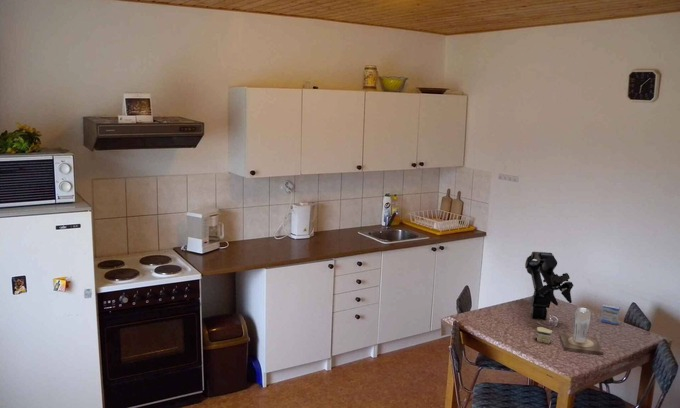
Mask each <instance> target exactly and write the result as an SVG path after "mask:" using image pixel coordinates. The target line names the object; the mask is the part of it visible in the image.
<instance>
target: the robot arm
mask: <svg viewBox="0 0 680 408" xmlns="http://www.w3.org/2000/svg"><path fill="white" fill-rule="evenodd" d="M525 260H526V261H525V263H524V264H525V265H524V268H525V269H526V271H527V273H528V274H529V275H530V276H531V280H532V285H533V290H534V291H533V294H532V296H531V298H530V302H529V303H530V305H531V307H532V311H531V319H534V320H541V319H542V320H543V321H547V315H548V309H549V308H550V306H551V303H553V304H554V305H555V306H559V303H558V300H557V298H556V296H555V294H554V291H558V290H559V291H560V294H561V295H562V296H563V297H564V298H565V299H566V301H567V302H568V303H569V304H571V303H573V302H572V296H571V293H572V292H571V291H572V289H573V287H574V284H573V281H569V280H570V279H571V278H570V275H569V273H568V272H565V273H562V275H558V274H557V273H555V272H554V270H555V268H556V267H557V266H558V260H557V259H556V257H555V256H554V255H553V253H552V252H546V251H544V252H543V251H532V252H531V254H530V255H529V256H527V257H526V259H525ZM541 276H542V277H541ZM542 278H543V279H542ZM543 283H545V285H543Z"/></svg>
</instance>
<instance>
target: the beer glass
mask: <svg viewBox="0 0 680 408" xmlns="http://www.w3.org/2000/svg"><path fill="white" fill-rule="evenodd" d="M591 313H592V310H590V309H589V308H586V307H576V308H575V309H574V314H573V334H572V335H573V338H572V340H573V341H574V342H576V343H580V344H585V343H586V342H587V341H586V337H587V333H588V330H589V327H590V324H591V317H592V316H591V315H592V314H591Z"/></svg>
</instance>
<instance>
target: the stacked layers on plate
mask: <svg viewBox="0 0 680 408" xmlns="http://www.w3.org/2000/svg"><path fill="white" fill-rule="evenodd" d="M552 332H553V330H551V329H548V328H546V327H543V326H538V327H536V335H535V336H536V338H537V339H536V340H537V342H538V343H545V344H550V343H551V341H552V339H553V337H552V335H553V333H552Z"/></svg>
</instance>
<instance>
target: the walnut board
mask: <svg viewBox="0 0 680 408" xmlns="http://www.w3.org/2000/svg"><path fill="white" fill-rule="evenodd" d="M573 335H574V334H566V333H559V339H560V341H561V344H562V347H563V350H564V351H565V352H566V351H568V352H575V353H584V354H591V355H596V356H597V355H600V356H604V350H603V348H602V346H601V345H600V343H599V341H598V339H597V338H596V337H592V336H586V341H587V342H586V343H585V344H580V343H576V342H574V341H573V340H572V338H573Z"/></svg>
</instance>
